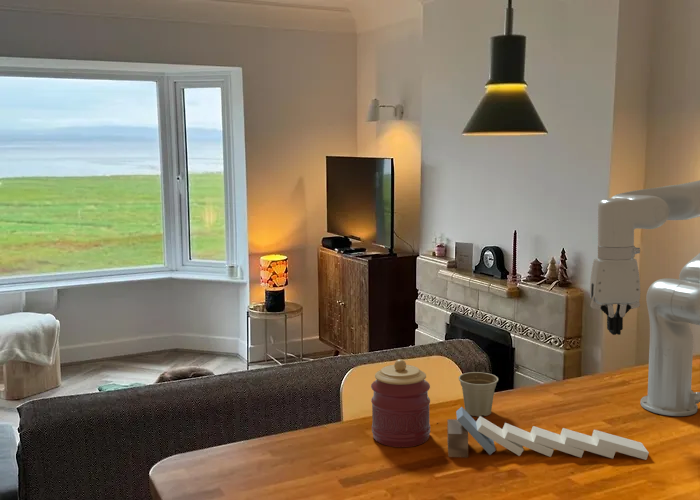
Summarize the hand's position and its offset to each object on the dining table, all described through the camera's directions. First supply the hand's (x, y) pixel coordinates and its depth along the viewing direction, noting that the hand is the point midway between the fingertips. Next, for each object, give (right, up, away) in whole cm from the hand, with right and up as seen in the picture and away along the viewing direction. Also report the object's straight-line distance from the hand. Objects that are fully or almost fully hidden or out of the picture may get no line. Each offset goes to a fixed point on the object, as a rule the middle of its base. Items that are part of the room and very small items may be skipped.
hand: (614, 333), depth 157 cm
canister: (-49, -23, -3) cm, 54 cm away
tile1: (0, -22, -15) cm, 27 cm away
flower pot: (-29, -21, +10) cm, 37 cm away
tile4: (-19, -23, -13) cm, 32 cm away
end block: (-37, -23, -11) cm, 45 cm away
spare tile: (-30, -23, -12) cm, 40 cm away
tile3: (-12, -22, -14) cm, 29 cm away
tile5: (-25, -23, -12) cm, 36 cm away
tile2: (-6, -22, -15) cm, 27 cm away
